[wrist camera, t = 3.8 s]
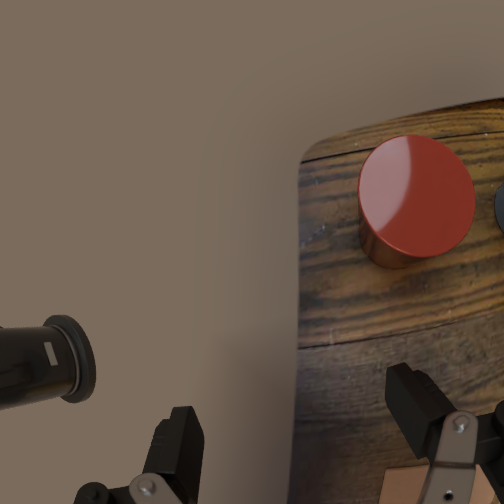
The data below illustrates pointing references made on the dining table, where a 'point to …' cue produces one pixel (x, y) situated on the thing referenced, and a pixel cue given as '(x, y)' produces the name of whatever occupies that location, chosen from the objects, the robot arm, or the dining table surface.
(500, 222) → the grey upright cylinder
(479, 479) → the terracotta mat
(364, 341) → the dining table surface
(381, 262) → the glossy red cylinder
